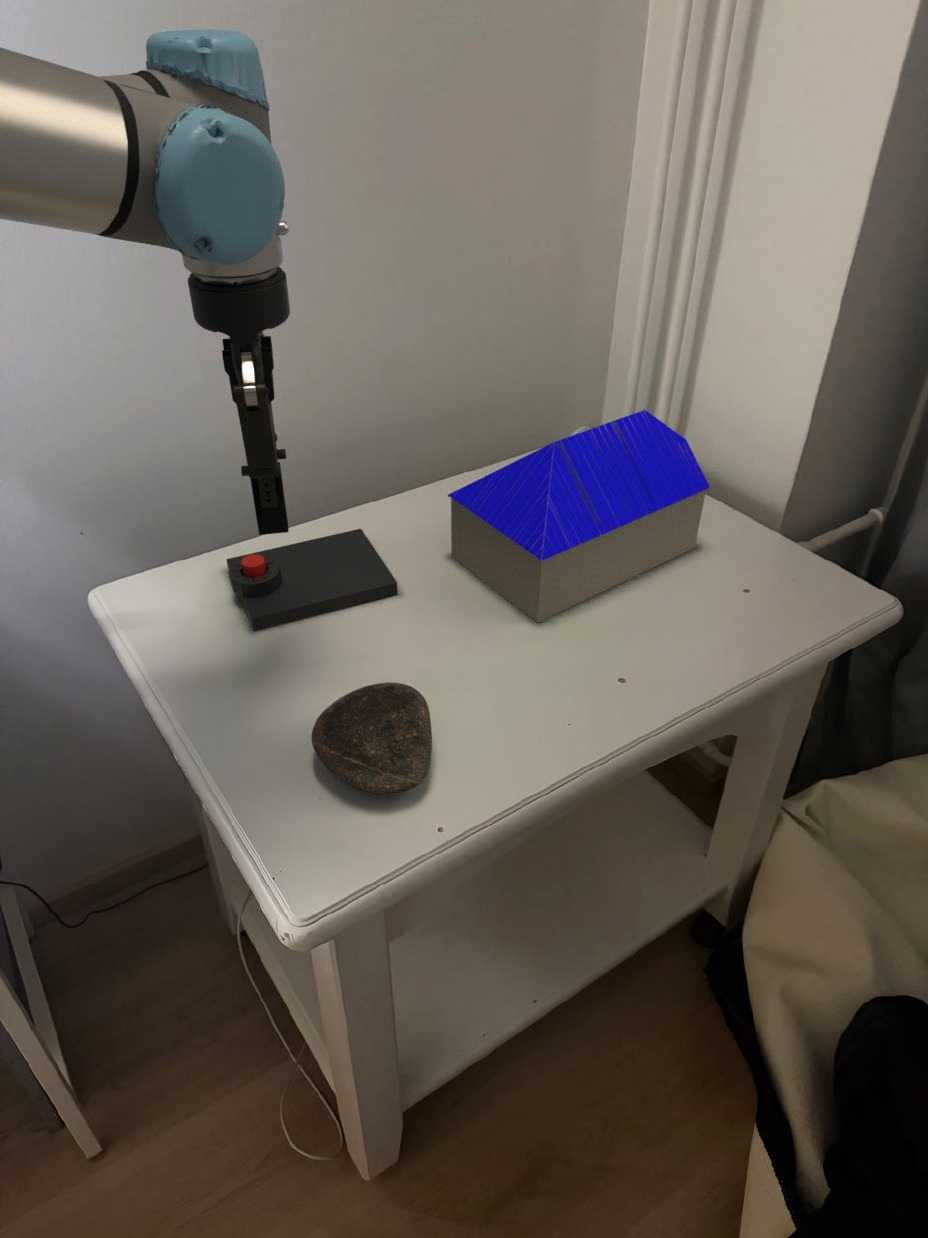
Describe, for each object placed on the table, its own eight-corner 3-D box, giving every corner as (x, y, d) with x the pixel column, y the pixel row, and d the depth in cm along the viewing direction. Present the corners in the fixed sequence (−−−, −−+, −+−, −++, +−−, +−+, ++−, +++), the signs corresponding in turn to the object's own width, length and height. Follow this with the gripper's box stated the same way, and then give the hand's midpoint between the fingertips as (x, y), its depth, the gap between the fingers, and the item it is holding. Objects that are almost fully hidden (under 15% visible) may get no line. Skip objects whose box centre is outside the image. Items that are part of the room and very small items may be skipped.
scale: (247, 633, 92) (242, 606, 90) (222, 572, 101) (217, 546, 99) (397, 594, 98) (396, 568, 96) (361, 540, 106) (359, 515, 104)
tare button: (246, 580, 94) (244, 568, 93) (241, 569, 96) (239, 557, 95) (268, 575, 95) (266, 563, 94) (263, 563, 97) (261, 552, 96)
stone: (471, 766, 78) (471, 725, 75) (372, 831, 72) (368, 789, 69) (392, 699, 85) (389, 659, 82) (296, 753, 79) (289, 713, 76)
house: (604, 492, 116) (617, 377, 106) (698, 547, 105) (722, 425, 96) (447, 555, 104) (446, 432, 94) (536, 625, 94) (546, 494, 84)
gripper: (288, 293, 64) (318, 563, 79) (282, 244, 74) (310, 491, 89) (181, 299, 63) (232, 572, 78) (190, 248, 73) (233, 498, 88)
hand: (273, 529), depth 83 cm, fingers closed
